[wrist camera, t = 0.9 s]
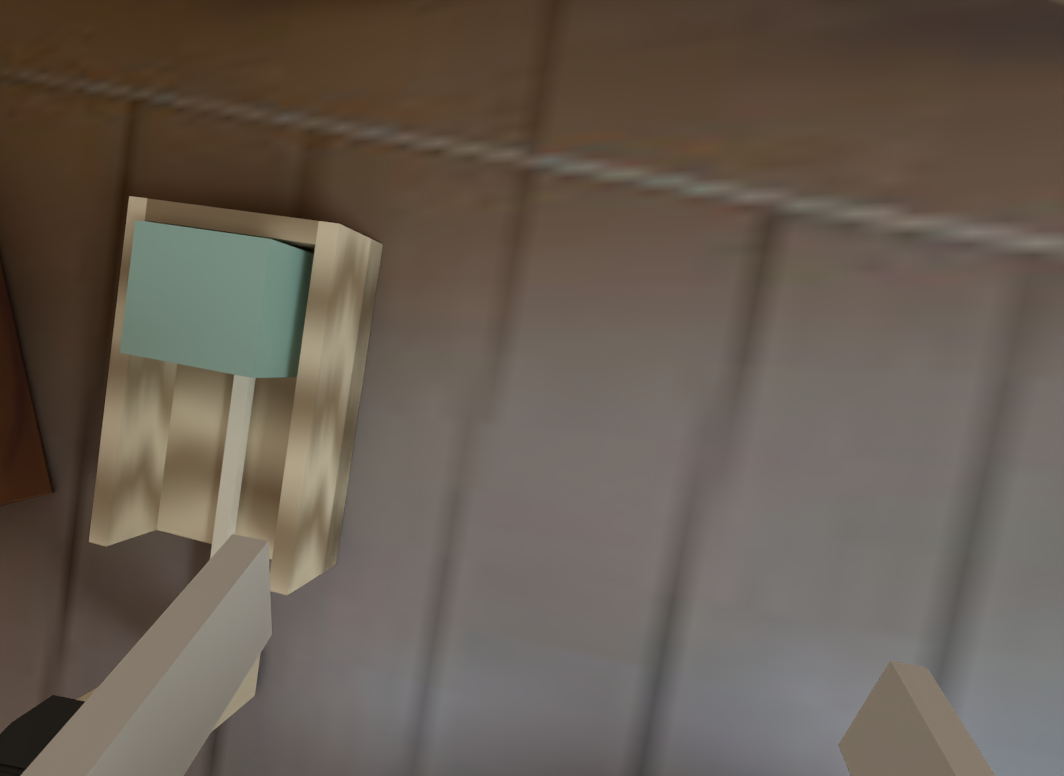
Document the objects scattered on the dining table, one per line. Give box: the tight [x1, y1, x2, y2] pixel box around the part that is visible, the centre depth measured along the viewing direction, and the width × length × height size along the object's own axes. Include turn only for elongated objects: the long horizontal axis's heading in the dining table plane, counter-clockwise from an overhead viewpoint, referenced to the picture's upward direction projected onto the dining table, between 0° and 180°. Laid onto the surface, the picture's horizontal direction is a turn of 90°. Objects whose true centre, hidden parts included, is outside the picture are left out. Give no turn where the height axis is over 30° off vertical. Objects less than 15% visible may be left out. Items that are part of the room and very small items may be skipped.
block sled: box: [76, 220, 314, 731], centre depth 31 cm, size 28×8×10 cm, turn 171°
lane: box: [89, 196, 383, 595], centre depth 34 cm, size 20×13×5 cm, turn 171°
